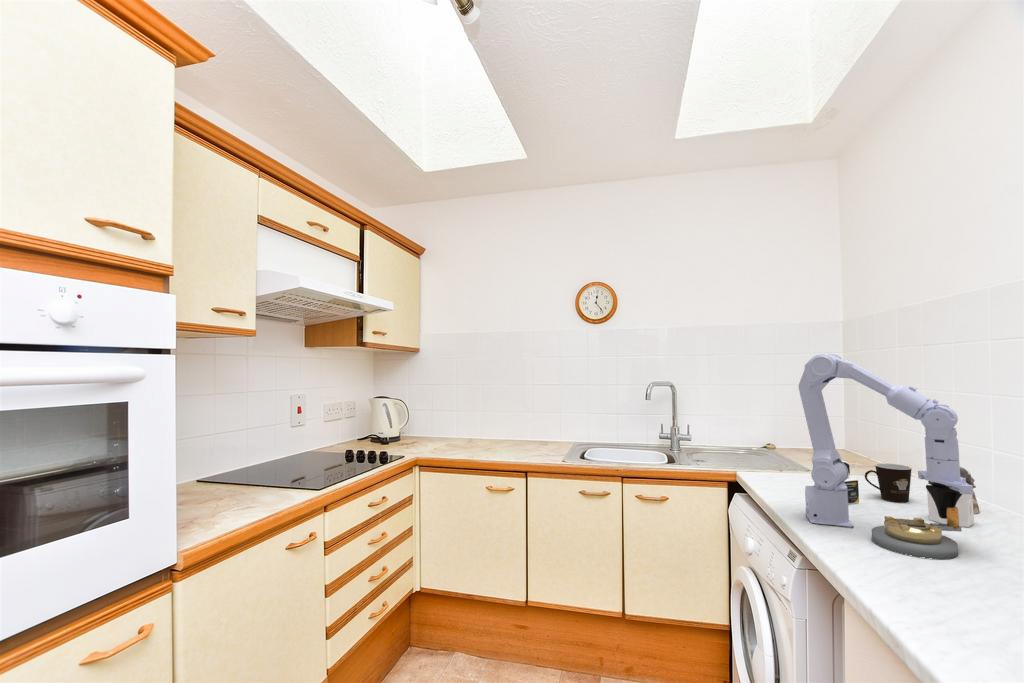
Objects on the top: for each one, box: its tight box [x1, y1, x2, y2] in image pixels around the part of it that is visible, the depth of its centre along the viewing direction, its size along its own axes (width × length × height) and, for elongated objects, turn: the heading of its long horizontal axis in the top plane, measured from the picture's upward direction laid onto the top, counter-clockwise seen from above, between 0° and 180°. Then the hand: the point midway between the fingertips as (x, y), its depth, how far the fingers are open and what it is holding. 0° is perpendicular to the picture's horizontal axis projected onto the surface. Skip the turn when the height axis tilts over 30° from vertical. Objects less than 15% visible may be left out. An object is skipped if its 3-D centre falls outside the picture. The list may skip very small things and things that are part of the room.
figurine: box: [960, 466, 981, 515], centre depth 132 cm, size 7×7×12 cm
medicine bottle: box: [842, 460, 860, 505], centre depth 142 cm, size 7×7×12 cm
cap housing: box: [870, 525, 959, 560], centre depth 107 cm, size 15×15×2 cm
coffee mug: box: [864, 463, 913, 504], centre depth 143 cm, size 12×9×10 cm
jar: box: [926, 474, 975, 528], centre depth 123 cm, size 9×8×12 cm
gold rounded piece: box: [883, 506, 962, 545], centre depth 107 cm, size 14×10×7 cm
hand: (946, 518), depth 108 cm, fingers closed
